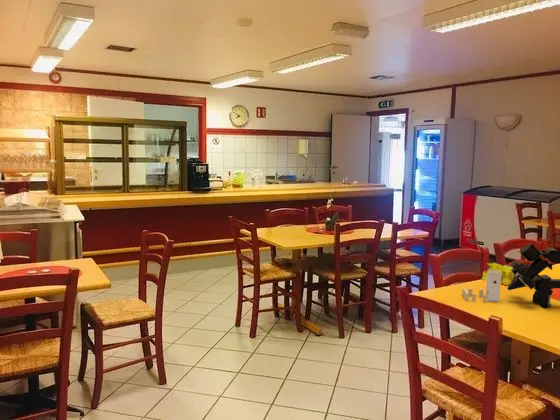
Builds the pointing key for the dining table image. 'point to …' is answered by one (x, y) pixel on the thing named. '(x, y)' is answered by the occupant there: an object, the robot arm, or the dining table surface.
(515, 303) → the dining table surface
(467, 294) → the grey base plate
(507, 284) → the decorative piece
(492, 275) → the pillar on grey plate
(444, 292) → the dining table surface
